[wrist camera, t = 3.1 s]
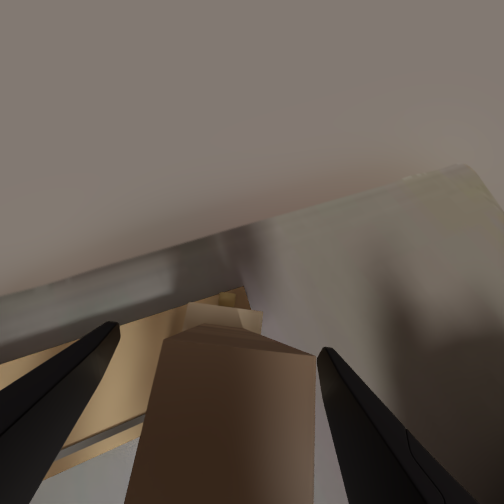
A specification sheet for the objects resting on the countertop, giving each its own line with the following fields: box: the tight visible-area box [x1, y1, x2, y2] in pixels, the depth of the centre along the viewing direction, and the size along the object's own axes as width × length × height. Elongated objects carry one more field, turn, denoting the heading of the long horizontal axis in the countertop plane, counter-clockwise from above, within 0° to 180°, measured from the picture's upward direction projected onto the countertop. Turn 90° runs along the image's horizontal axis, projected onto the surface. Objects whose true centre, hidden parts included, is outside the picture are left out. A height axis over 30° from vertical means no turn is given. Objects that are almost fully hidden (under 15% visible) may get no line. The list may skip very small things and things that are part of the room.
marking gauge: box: [124, 292, 316, 504], centre depth 9 cm, size 6×5×13 cm
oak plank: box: [0, 286, 251, 480], centre depth 13 cm, size 26×7×1 cm, turn 109°
